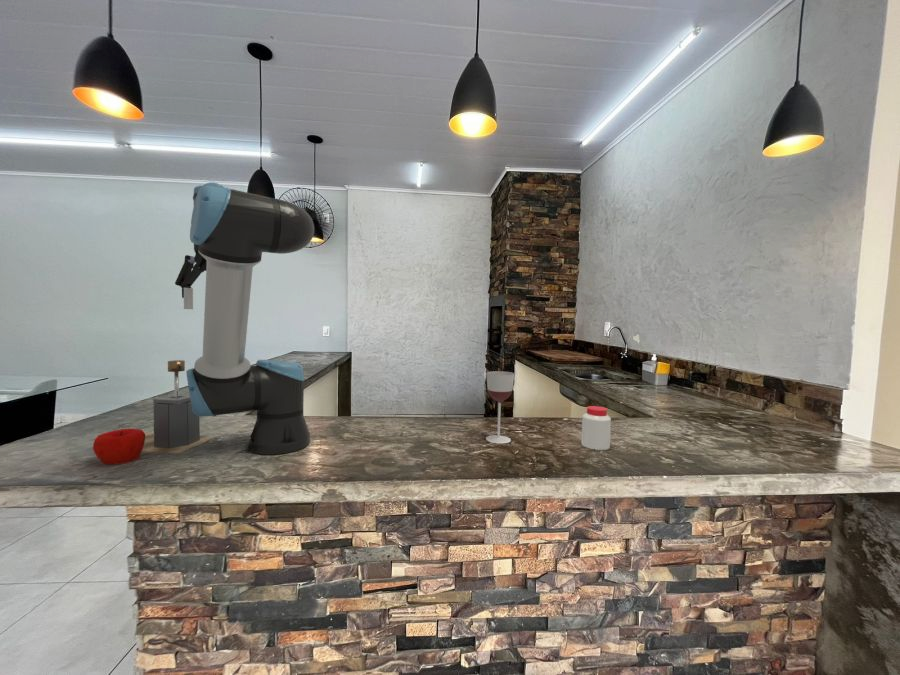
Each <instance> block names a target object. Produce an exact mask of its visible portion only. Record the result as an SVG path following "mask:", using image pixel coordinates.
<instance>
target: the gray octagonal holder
mask: <svg viewBox="0 0 900 675" xmlns="http://www.w3.org/2000/svg"><path fill="white" fill-rule="evenodd" d="M152 401H153V405H152V407H153V408H152V410H153V433H154V447H156V448H174V447H180V446H186V445H190V444H192V443H194V442H197V441H199V440H200V436H201V434H200V430H201V429H200V426H201V425H200V423H201V422H200V416H196V415H195V414H194V413H193V411H192V406H191V400H190V394H182V393H179V398H175V393H173V394H170V395H166V396H162V397H157V398H153V400H152Z"/></svg>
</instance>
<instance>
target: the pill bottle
mask: <svg viewBox="0 0 900 675" xmlns="http://www.w3.org/2000/svg"><path fill="white" fill-rule="evenodd" d="M581 420H582V421H581V441H580V442H581V445H582V447H585V448H587V449H590V450H594V449H595V450H594V451H607V450H609V449H610V447H611V428H612V427H611V425H612V418H611V416H610V415H609V414H608V408H606V407H604V406H598V405H597V406H596V405H590V406H587V407H586V412H585V413H584V414H582V418H581Z"/></svg>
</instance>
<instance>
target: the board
mask: <svg viewBox="0 0 900 675" xmlns="http://www.w3.org/2000/svg"><path fill="white" fill-rule="evenodd" d="M144 433H145V442H144V446H143V449H142V452H151V453H168V454H181V453H183V452H185V451H188V450H190V449H193V448H195V447H197V446H198V445H200V444H203V443H205V442H208V441H210V440H213V439H215V438H216V436H210V435H200V440H199V441H197V442H194V443H192V444H190V445H186V446H180V447H174V448H156V447H154V432H144Z"/></svg>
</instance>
